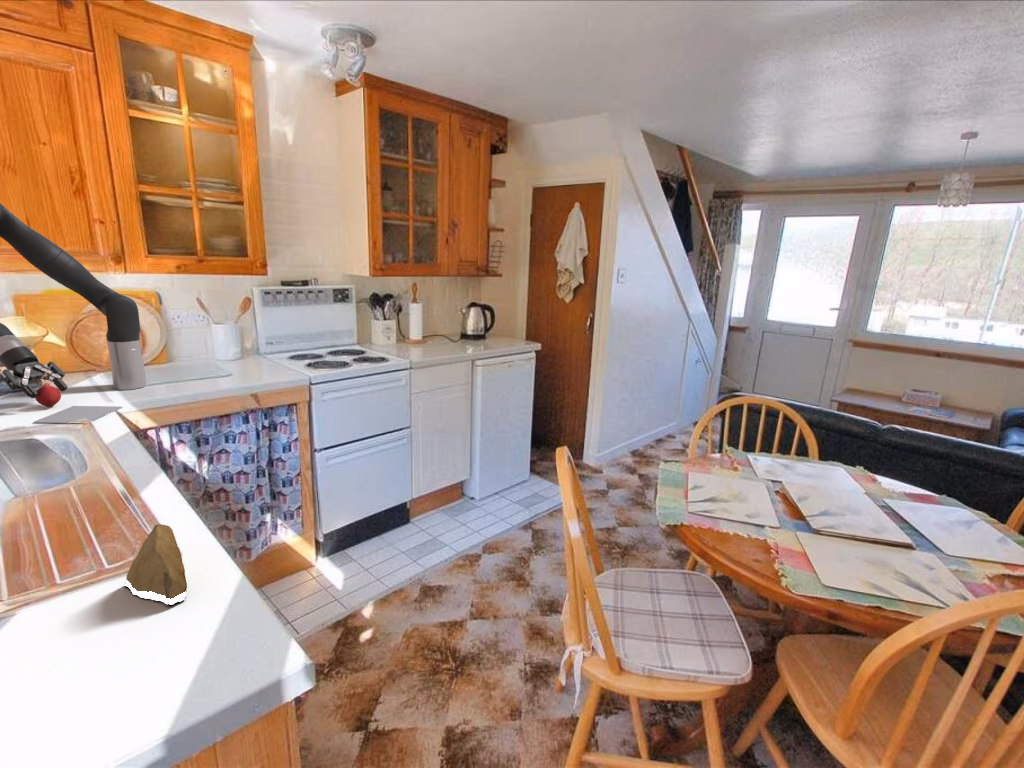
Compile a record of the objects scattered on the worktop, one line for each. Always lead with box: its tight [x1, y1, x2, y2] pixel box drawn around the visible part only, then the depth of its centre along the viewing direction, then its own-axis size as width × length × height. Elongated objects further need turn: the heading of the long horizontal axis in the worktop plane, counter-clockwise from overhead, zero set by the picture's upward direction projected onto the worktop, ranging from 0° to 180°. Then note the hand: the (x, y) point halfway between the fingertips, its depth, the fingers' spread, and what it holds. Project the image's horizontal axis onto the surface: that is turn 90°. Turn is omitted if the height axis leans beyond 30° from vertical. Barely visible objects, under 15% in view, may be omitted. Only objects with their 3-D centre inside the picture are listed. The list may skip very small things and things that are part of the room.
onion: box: [34, 382, 62, 409], centre depth 153 cm, size 6×6×8 cm
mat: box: [33, 405, 123, 423], centre depth 149 cm, size 16×14×1 cm
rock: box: [126, 524, 188, 599], centre depth 75 cm, size 11×9×10 cm
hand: (50, 393), depth 153 cm, fingers open, 8 cm apart
